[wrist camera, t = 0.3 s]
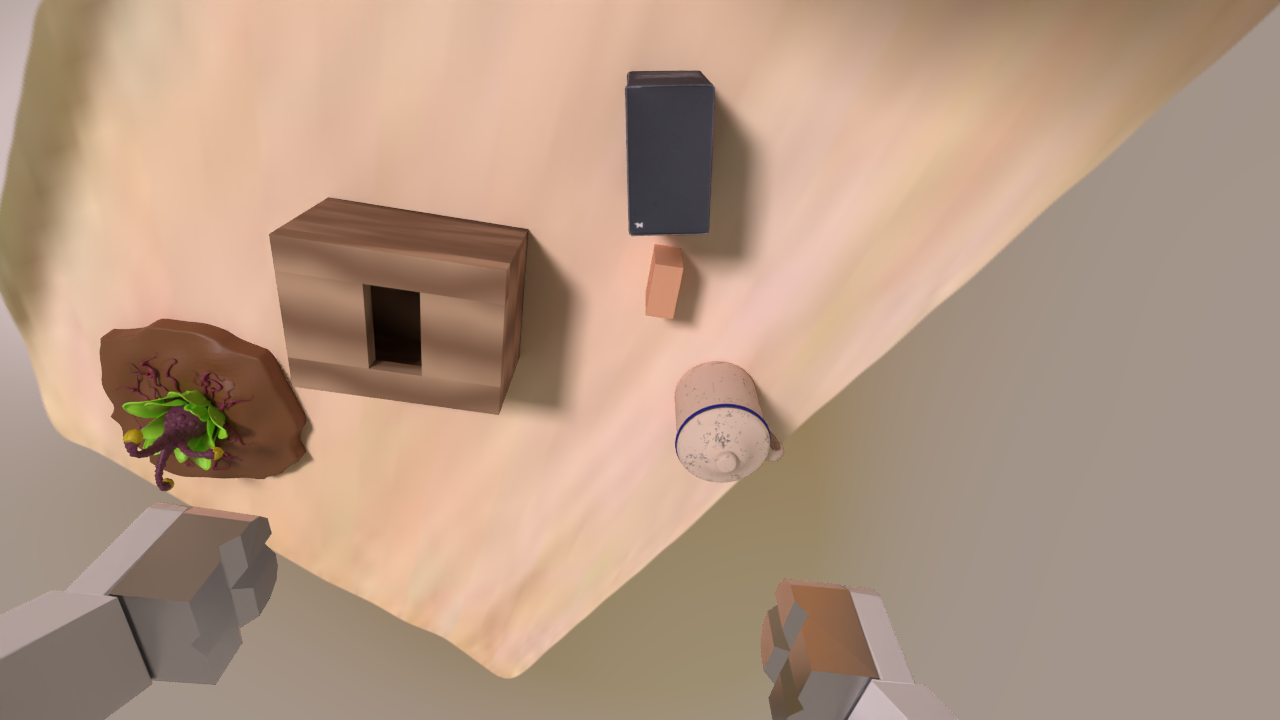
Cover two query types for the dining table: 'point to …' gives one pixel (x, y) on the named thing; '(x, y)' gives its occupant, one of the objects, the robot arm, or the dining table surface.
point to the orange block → (664, 281)
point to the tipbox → (401, 304)
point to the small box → (669, 152)
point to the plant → (200, 401)
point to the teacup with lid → (721, 424)
